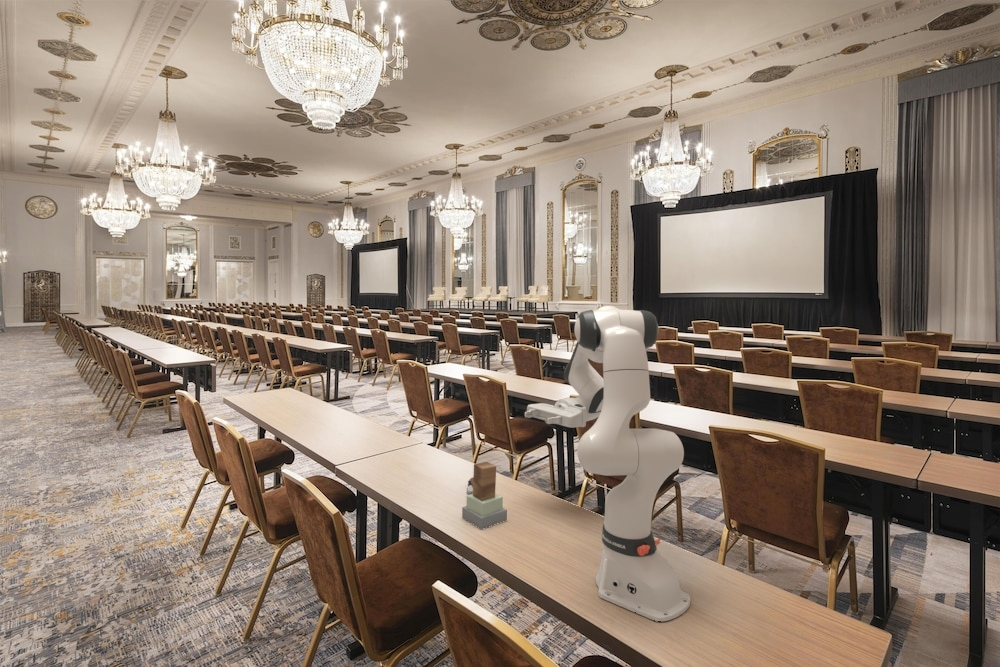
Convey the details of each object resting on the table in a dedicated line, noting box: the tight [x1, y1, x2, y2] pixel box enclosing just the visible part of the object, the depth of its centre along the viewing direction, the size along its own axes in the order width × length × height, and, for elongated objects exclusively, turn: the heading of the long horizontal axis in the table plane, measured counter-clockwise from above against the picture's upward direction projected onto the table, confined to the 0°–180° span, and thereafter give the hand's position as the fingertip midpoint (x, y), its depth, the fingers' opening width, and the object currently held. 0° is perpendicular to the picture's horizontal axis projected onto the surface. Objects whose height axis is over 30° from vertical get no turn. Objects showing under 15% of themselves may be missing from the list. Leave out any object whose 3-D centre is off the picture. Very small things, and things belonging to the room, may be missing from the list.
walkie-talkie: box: [466, 477, 473, 496], centre depth 184 cm, size 9×4×20 cm
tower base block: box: [461, 505, 508, 530], centre depth 163 cm, size 10×10×4 cm
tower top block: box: [466, 493, 504, 517], centre depth 162 cm, size 8×8×4 cm
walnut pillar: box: [472, 461, 497, 501], centre depth 162 cm, size 5×5×10 cm
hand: (536, 418), depth 163 cm, fingers open, 8 cm apart
